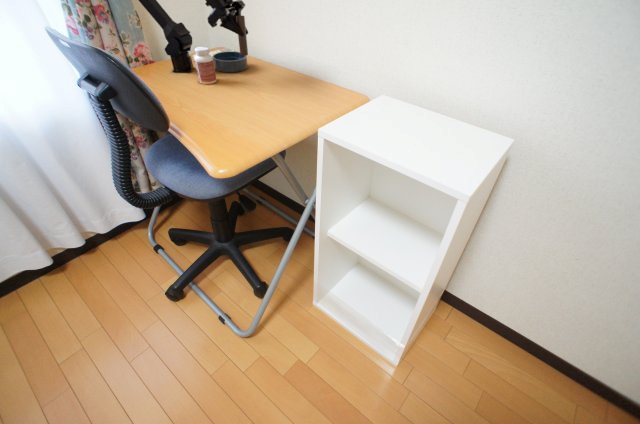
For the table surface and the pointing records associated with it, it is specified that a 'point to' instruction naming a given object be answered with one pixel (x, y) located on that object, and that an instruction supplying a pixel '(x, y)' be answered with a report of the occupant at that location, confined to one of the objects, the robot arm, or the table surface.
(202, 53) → the pill bottle
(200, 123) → the table surface
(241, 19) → the stick
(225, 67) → the bowl
